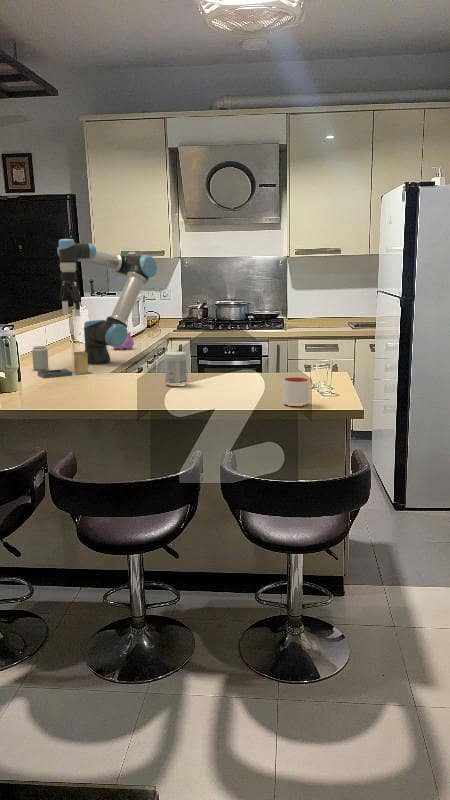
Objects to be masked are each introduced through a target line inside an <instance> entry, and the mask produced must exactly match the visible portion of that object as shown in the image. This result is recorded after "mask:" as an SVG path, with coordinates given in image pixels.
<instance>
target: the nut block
mask: <svg viewBox="0 0 450 800" xmlns="http://www.w3.org/2000/svg"><path fill="white" fill-rule="evenodd" d="M84 351H85V350H84ZM84 351H73V360H74V364H73V365H74V372H76V373H88V371H89V364H88V356H87V354H88V353H87V352H84Z"/></svg>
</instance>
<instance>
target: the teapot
mask: <svg viewBox="0 0 450 800" xmlns="http://www.w3.org/2000/svg"><path fill="white" fill-rule="evenodd" d="M127 333H128V336H127V339H126V341H125V342H124V343H123V344H122V345H120V346H112V348H114V350H118V351H123V350H122V349H124V348H126V349H130V350H131V349H132V348H133V346H134V344H135V342H134V339H133V336H132V335H131V334H132V332H131V331H129V332H127ZM118 348H119V349H118Z"/></svg>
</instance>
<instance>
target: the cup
mask: <svg viewBox="0 0 450 800" xmlns="http://www.w3.org/2000/svg"><path fill="white" fill-rule="evenodd" d="M309 397H310V380H309V379H308V378H305V377H296V376H295V377H285V378H283V380H282V402H283V401H285V402H289V403H304V402H307V401H308V400H309ZM308 402H309V401H308Z"/></svg>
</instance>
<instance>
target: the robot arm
mask: <svg viewBox="0 0 450 800" xmlns="http://www.w3.org/2000/svg"><path fill="white" fill-rule="evenodd" d="M56 251H57V256H58V257H59V267H60V271H61V272H60V279H61V280H62V281H61V282H60V284H61V285H60V286H61V287H60V292H59V300H61V305H62V315H69V300H68V297H69V294H70V295H71V297H72V304H73V313H74V317H80V316H81V311H80V308H81V307H80V302H82V300H83V299H82V296H81V293H80V288H79V285H78V281H75V280H77V278H78V277H77V272H76V271H77V263H76V262H81V263H84V264H88V265H92V266H97V267H101V268H105V269H110V270H111V271H112V272H114V273H118V274H121V275H125V276H127V277H128V278H127V280H126V282H125V285H124V286H123V289H122V291H121V293H120V295H119V297H118V300H117V302H116V304H115V307H113V311H112V313H111V315H108V316H106V319H97V320H87V321H85V322H84V325H83V335H84V352H87V353H88V354H87V356H88V365H104V364H109V363H111V356H110V353H109V352H108V347H107V346H110V347H113V346H120V345H122V344H123V343H124V342H125V341H126V339H127V336H128V333H129V332H128V324H127V321H128V319H129V317H130V315H131V313H132V310H133V308H134V305H135V303H136V302H137V300H138V296H139V294H140V292H141V290H142V288H143V286H144V285H145V284H147V283H148V282H149V279H150V278H152V277H155V276H156V273H157V271H158V266H157V262H156V260H155V258H154V257H153V256H151V255H149V254H141V255H140V254H133V255H132V254H131V255H130V254H129V255H126V254H124V255H123V254H119V253H118V254H117V253H116V254H110V253H106V252H102V251H99V250H97V248H96V245H95V244H93V243H89V242H86V243H85V242H83V243H79V242H78V243H77V242H75V239H73V238H62V239H61V238H60V239H59V240H58V247H57V250H56ZM127 332H128V333H127Z"/></svg>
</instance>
